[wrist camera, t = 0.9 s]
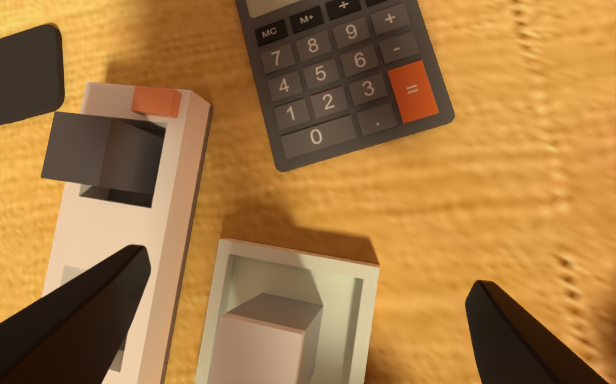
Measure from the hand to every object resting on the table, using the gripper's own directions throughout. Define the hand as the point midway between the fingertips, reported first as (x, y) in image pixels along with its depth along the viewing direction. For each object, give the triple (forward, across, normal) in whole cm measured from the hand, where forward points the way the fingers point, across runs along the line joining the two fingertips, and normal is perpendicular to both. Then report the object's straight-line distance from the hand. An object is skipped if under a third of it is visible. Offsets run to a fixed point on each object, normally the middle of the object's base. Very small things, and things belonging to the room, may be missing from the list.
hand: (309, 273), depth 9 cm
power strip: (+12, +12, +10) cm, 20 cm away
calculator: (+19, 0, -2) cm, 19 cm away
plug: (+6, +1, +12) cm, 14 cm away
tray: (+7, +1, +12) cm, 14 cm away
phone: (+22, +28, +4) cm, 36 cm away
